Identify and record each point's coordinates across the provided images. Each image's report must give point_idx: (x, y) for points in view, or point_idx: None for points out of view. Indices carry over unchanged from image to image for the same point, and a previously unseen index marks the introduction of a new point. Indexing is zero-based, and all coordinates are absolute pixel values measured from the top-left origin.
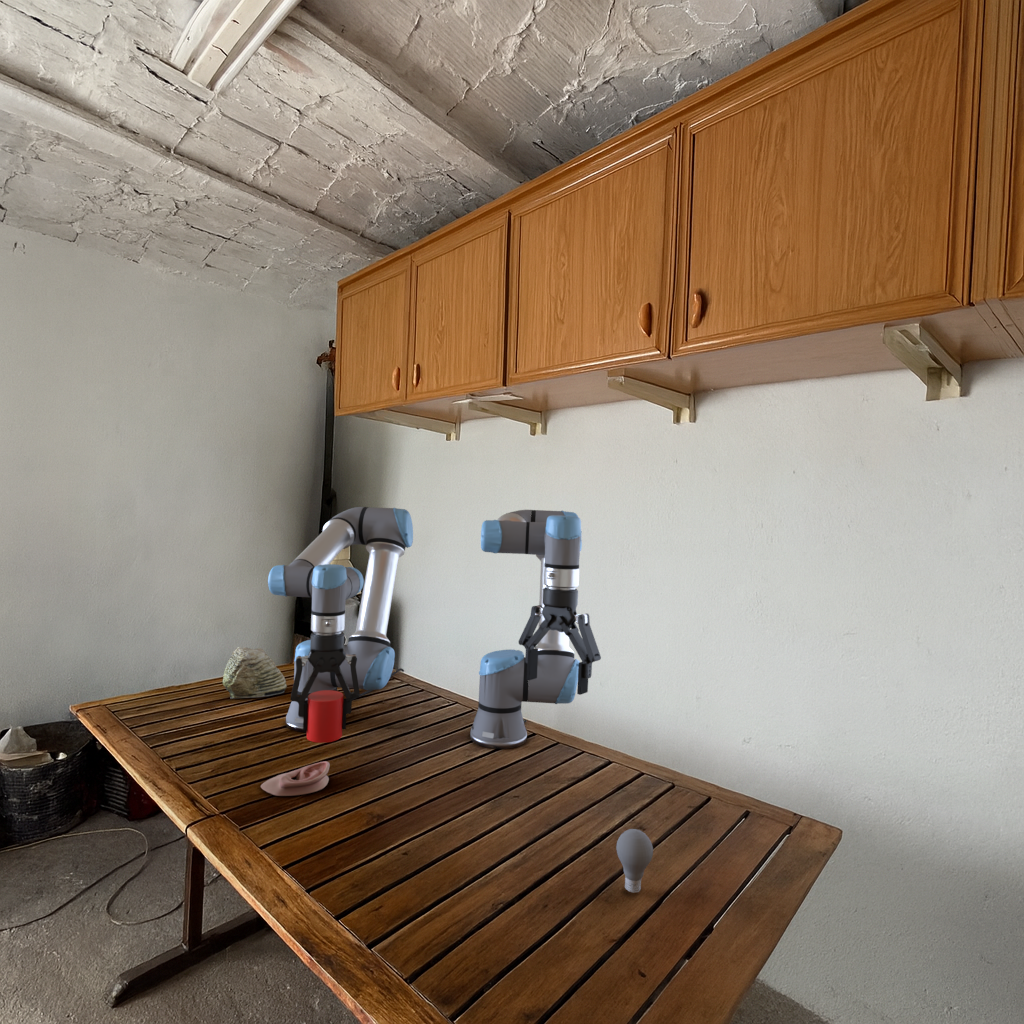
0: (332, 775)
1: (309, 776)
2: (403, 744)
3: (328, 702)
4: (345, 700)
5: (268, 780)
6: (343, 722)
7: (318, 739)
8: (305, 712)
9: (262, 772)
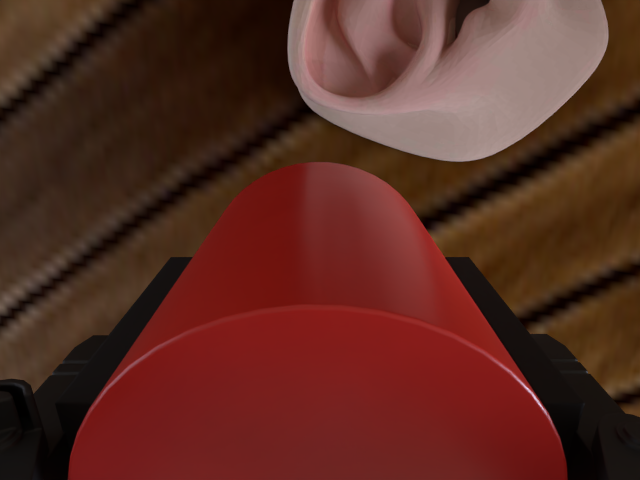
0: (279, 125)
1: (392, 12)
2: (4, 374)
3: (274, 295)
4: None
5: (581, 59)
6: (172, 280)
7: (360, 173)
8: (516, 339)
9: (570, 212)
